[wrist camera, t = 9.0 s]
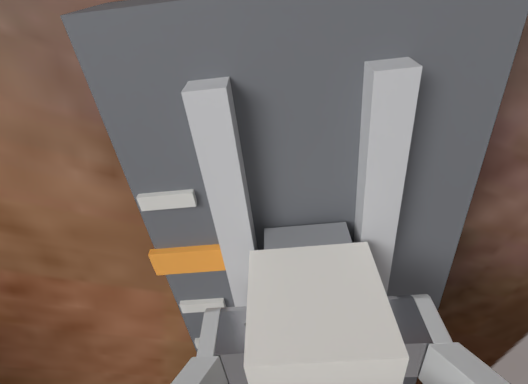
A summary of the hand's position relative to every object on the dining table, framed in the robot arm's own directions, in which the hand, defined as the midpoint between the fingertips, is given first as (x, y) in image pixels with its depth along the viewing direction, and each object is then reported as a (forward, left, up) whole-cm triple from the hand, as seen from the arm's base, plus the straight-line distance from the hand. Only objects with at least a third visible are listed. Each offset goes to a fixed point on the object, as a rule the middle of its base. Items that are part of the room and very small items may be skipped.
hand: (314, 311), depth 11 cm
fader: (0, 0, -3) cm, 3 cm away
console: (-6, 0, -6) cm, 8 cm away
